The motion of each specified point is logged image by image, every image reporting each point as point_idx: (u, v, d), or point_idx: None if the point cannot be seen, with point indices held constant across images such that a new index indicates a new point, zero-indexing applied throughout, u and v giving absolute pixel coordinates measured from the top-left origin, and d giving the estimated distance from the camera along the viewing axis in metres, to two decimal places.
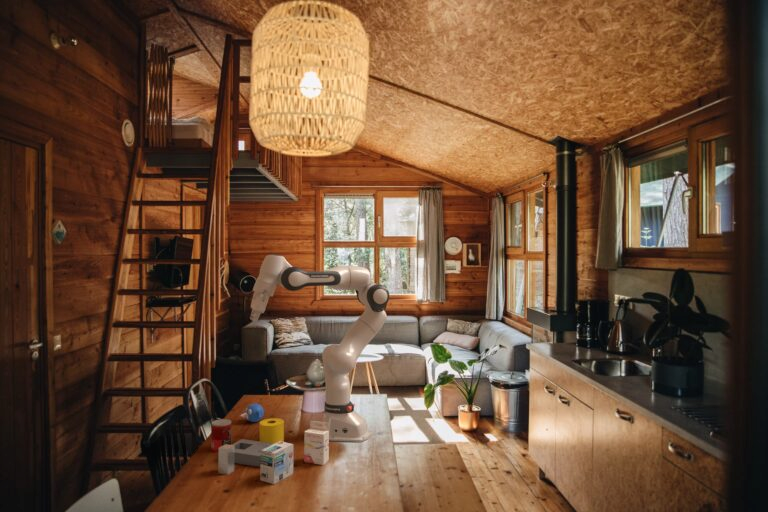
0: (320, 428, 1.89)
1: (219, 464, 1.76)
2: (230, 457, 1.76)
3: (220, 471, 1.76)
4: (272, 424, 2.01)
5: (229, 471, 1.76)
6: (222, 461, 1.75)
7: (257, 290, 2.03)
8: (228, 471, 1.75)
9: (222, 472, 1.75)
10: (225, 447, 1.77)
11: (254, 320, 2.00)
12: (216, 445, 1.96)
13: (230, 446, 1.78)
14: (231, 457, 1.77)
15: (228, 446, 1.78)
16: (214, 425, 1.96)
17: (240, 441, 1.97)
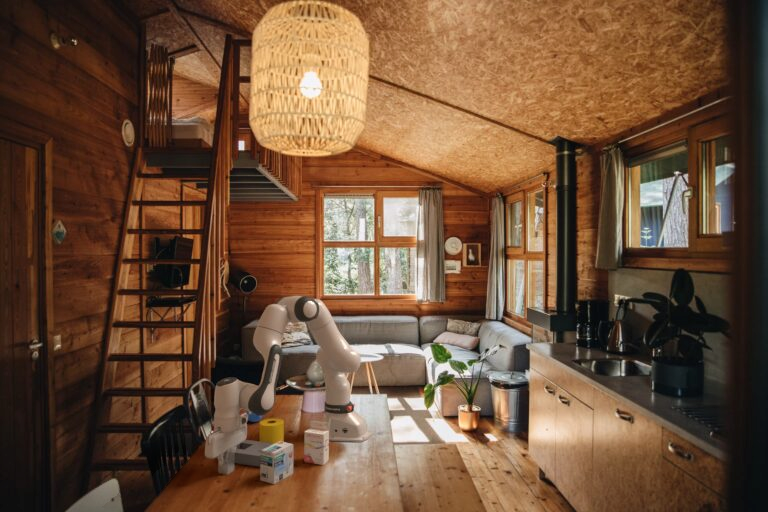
0: (320, 428, 1.89)
1: None
2: (230, 457, 1.76)
3: (220, 471, 1.76)
4: (272, 424, 2.01)
5: (229, 471, 1.76)
6: None
7: (214, 428, 1.75)
8: (228, 471, 1.75)
9: (222, 472, 1.75)
10: None
11: (219, 463, 1.74)
12: None
13: None
14: (231, 456, 1.77)
15: None
16: None
17: None
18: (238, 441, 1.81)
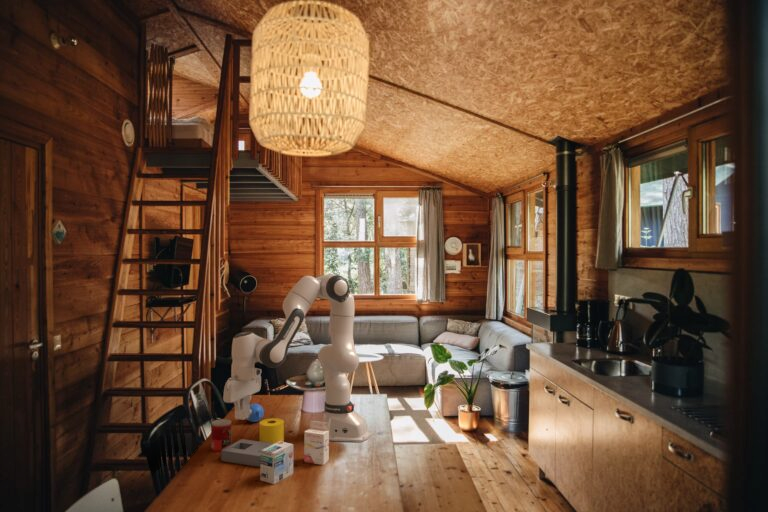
0: (320, 428, 1.89)
1: (235, 410, 1.90)
2: (246, 404, 1.91)
3: (236, 417, 1.90)
4: (272, 424, 2.01)
5: (245, 417, 1.90)
6: None
7: (231, 377, 1.90)
8: (244, 417, 1.90)
9: (238, 417, 1.90)
10: None
11: (236, 409, 1.89)
12: (216, 445, 1.96)
13: None
14: (246, 404, 1.91)
15: None
16: (214, 425, 1.96)
17: (240, 441, 1.97)
18: (253, 391, 1.96)
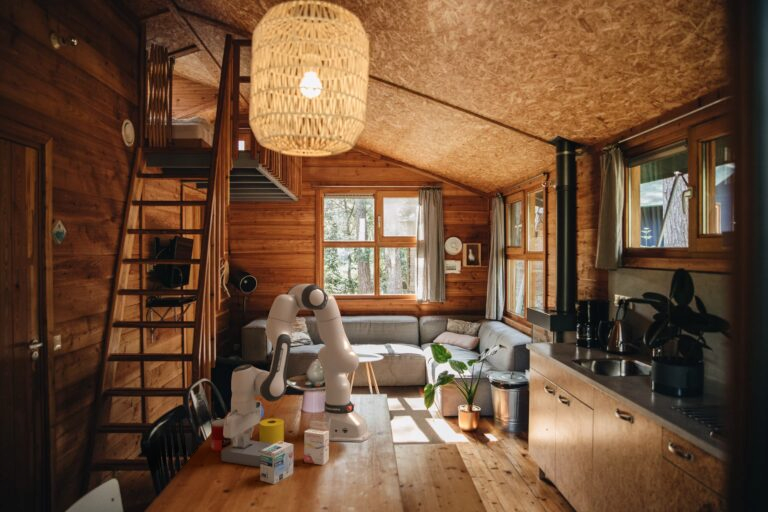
0: (320, 428, 1.89)
1: None
2: (246, 443, 1.91)
3: None
4: (272, 424, 2.01)
5: None
6: (239, 446, 1.90)
7: (231, 411, 1.90)
8: None
9: None
10: (241, 433, 1.91)
11: (234, 444, 1.87)
12: (216, 445, 1.96)
13: (246, 433, 1.92)
14: (246, 442, 1.91)
15: (244, 433, 1.92)
16: (214, 425, 1.96)
17: None
18: (253, 423, 1.96)
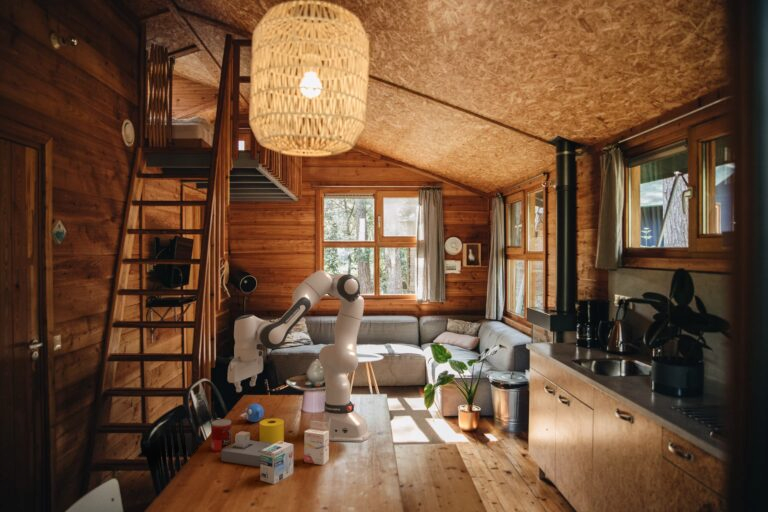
0: (320, 428, 1.89)
1: None
2: (246, 443, 1.91)
3: None
4: (272, 424, 2.01)
5: None
6: (239, 446, 1.90)
7: (234, 358, 1.96)
8: None
9: None
10: (241, 433, 1.91)
11: (237, 390, 1.93)
12: (216, 445, 1.96)
13: (246, 433, 1.92)
14: (246, 442, 1.91)
15: (244, 433, 1.92)
16: (214, 425, 1.96)
17: None
18: (256, 371, 2.02)
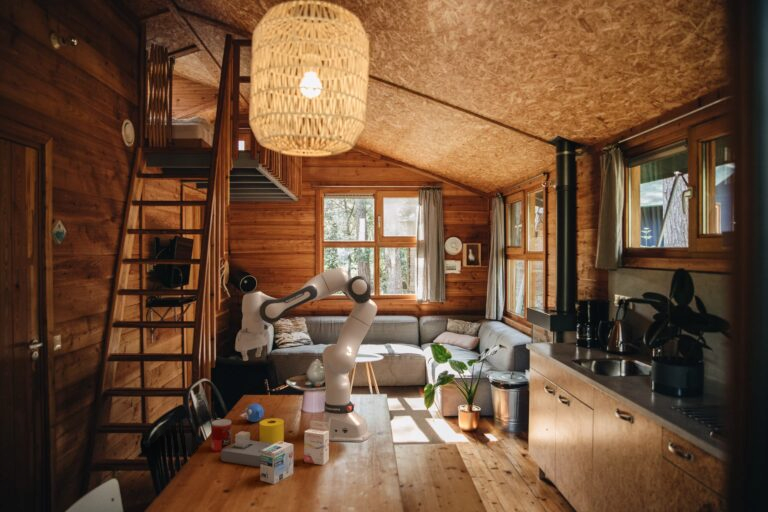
0: (320, 428, 1.89)
1: None
2: (246, 443, 1.91)
3: None
4: (272, 424, 2.01)
5: None
6: (239, 446, 1.90)
7: (242, 330, 2.13)
8: None
9: None
10: (241, 433, 1.91)
11: (244, 359, 2.10)
12: (216, 445, 1.96)
13: (246, 433, 1.92)
14: (246, 442, 1.91)
15: (244, 433, 1.92)
16: (214, 425, 1.96)
17: None
18: (261, 343, 2.19)
